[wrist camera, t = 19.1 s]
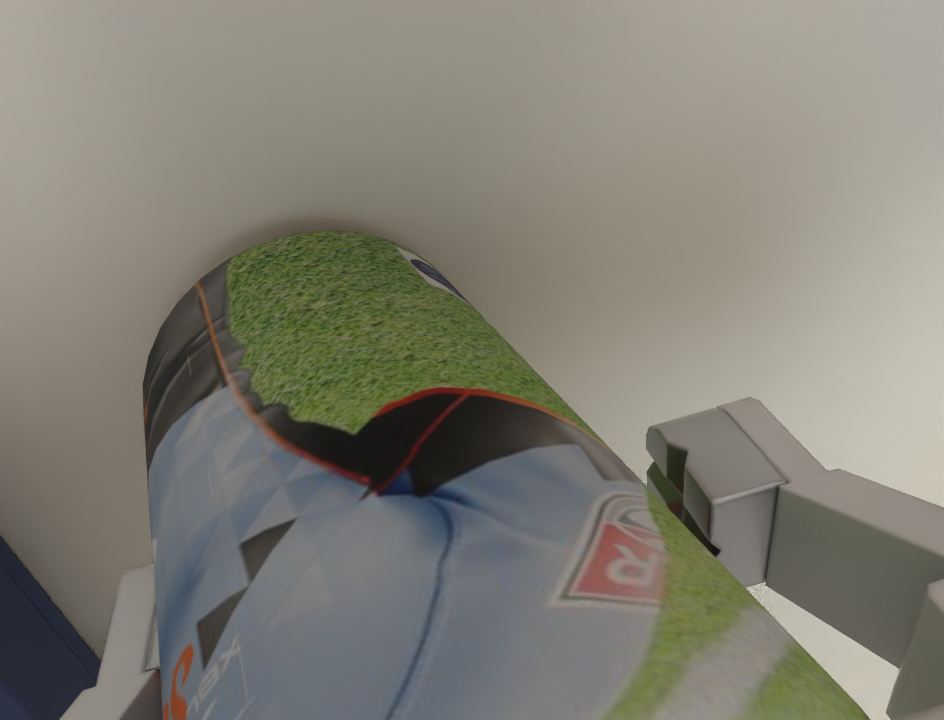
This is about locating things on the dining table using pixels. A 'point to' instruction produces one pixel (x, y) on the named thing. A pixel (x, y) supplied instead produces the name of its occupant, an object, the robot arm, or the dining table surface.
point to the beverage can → (418, 521)
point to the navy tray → (37, 649)
